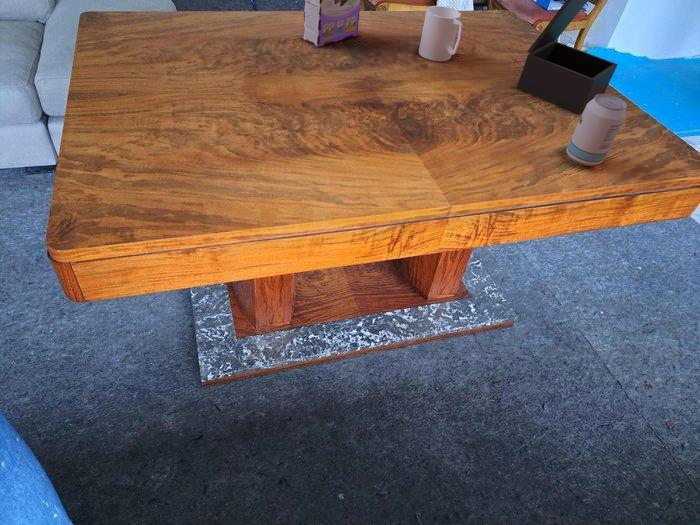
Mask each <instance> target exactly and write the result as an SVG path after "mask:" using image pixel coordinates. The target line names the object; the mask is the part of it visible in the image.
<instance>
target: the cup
mask: <svg viewBox="0 0 700 525" xmlns="http://www.w3.org/2000/svg"><path fill="white" fill-rule="evenodd" d="M461 16H462V14H461V12H460V11H458V10H457V9H455V8H453V7H449V6H443V5H431V6H428V7H427V8H426V11H425V16H424V21H423V27H422V32H421V37H420V43H419V47H418V54H419V56H421V57H422V58H424V59H425V60H428V61H429V60H430V61H434V62H446V61H450V59H451V58H452V56H454V55H455V54H457V53H458V49H459V47H460V44H461V42H462V36H463V28H464V25H463V22H461V21H460V20H461ZM456 37H457V39H456ZM455 42H456V43H455Z"/></svg>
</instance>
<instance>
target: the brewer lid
mask: <svg viewBox="0 0 700 525" xmlns="http://www.w3.org/2000/svg"><path fill="white" fill-rule="evenodd" d="M588 1H589V0H565V2H564V3H563V4H562V5H561V7H560V8H559V9H558V11H557V12H556V13H555V14H554V16H553V17H552V19H551V20H550V21H549V22H548V24H547V25H546V26H545V28H544V29H543V30H542V32H540V34H539V35H538V37H537V38H536V40H534V41H533V44H532V45H531V46H530V47H529V48H528V50H527V53H529V54H530V53H532V52H534V51H536V50H538V49H540V48H542V47H544V46H546V45H548V44H549V43H551V42H553V41H557V40H558V39H559V38H560V36H561V35H562V34H563V33H564V31H565V30H566V29H567V28H568V26H569V25H570V24H571V23H572V21H573V20H574V19H575V18H576V16H577V15H578V14H579V13H580V11H581V10H582V9H583V8H584V7H585V5H586V4H587V2H588Z"/></svg>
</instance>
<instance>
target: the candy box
mask: <svg viewBox="0 0 700 525" xmlns="http://www.w3.org/2000/svg"><path fill="white" fill-rule="evenodd" d="M361 1H362V0H304V7H303V32H302V33H303V37H302V39H303V40H305V41H306V42H308V43H310V44H311V45H313V46H315V47H317V48H319V47H323V46H325V45H330V44H333V43H336V42H339V41H343V40H346V39H349V38H353V37H356V36H358V34H359V22H360V12H361Z"/></svg>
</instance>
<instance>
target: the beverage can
mask: <svg viewBox="0 0 700 525" xmlns="http://www.w3.org/2000/svg"><path fill="white" fill-rule="evenodd" d="M627 107H628V104H627V102H625V100H623V99H622V98H620V97H618V96H615V95H613V94H609V93H604V94H597V95H596V96H595V97H594V99H592V100H591V101H590V102H588V103H587V105H586V107H585V109H584V111H583V112H582V113H581V116H580V118H579V120H578V121H577V122H578V123H577V125H576V127H575V129H574V131H573V134H572V136H571V138H570V140H569V142H568V144H567V147H566V150H565V151H566V154H567V156H568V157H569V159H570V160H571V161H572V162H574V163H575V164H577V165H580V166H584V167H591V166H592V167H593V166H597V165H600V164H602V163H603V161H604V159H605V157H606V155H607V154H608V152H609V150H610V148H611V146H612V144H613V142H614V140H615V138H616V137H617V135H618V133H619V131H620V130H621V127H622V125H623V123H624V121H625V119H626V117H627Z"/></svg>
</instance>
